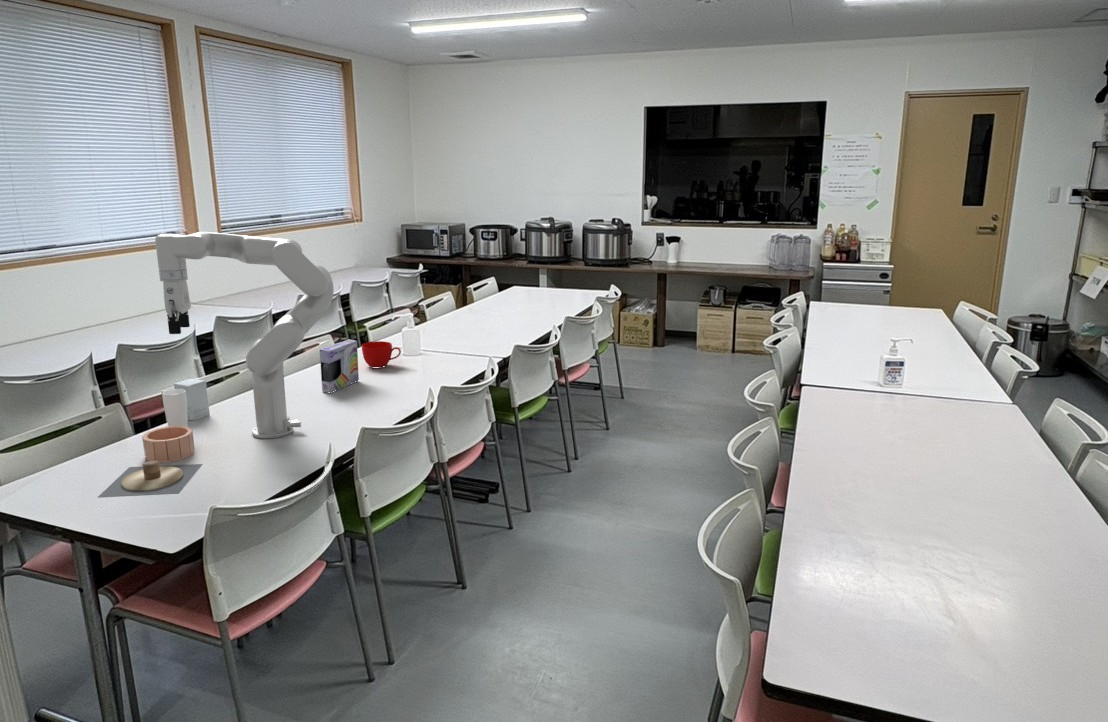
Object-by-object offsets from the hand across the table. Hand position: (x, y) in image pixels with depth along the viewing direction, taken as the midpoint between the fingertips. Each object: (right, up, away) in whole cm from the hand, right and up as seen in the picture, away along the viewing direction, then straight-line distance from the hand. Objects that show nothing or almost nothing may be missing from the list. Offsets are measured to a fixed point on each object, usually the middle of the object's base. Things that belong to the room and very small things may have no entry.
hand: (179, 330), depth 222 cm
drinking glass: (-6, -34, +11) cm, 36 cm away
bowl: (0, -38, -5) cm, 38 cm away
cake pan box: (+30, -20, +65) cm, 75 cm away
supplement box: (-10, -29, +29) cm, 42 cm away
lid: (+5, -42, -23) cm, 48 cm away
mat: (+5, -43, -23) cm, 49 cm away
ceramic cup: (+40, -12, +96) cm, 104 cm away
